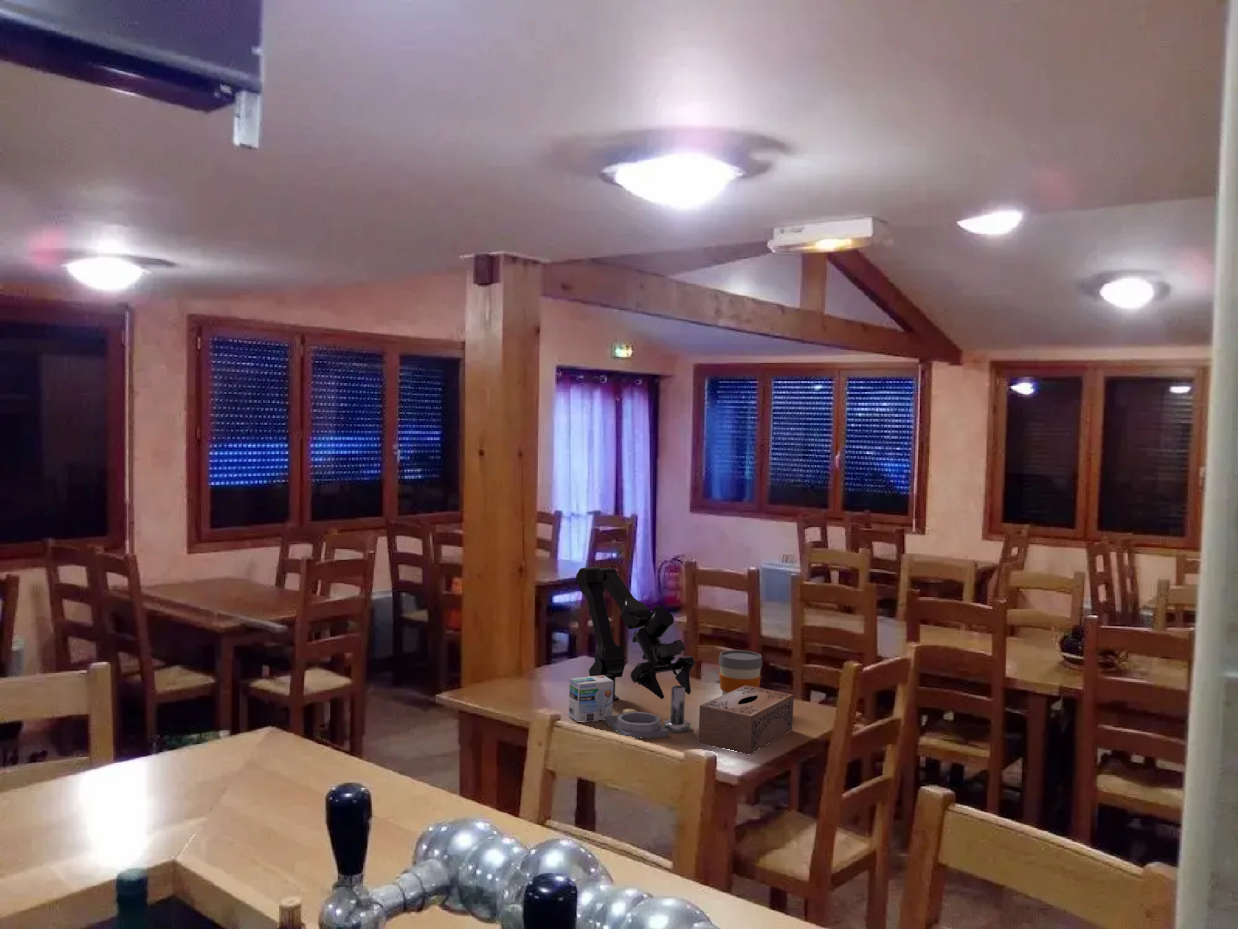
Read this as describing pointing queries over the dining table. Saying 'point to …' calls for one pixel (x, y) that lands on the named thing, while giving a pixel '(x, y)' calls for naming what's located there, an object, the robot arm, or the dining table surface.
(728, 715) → the tissue box cover
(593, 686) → the light bulb box
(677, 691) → the metal flanged shaft
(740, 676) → the reusable coffee cup
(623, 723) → the carrier plate
